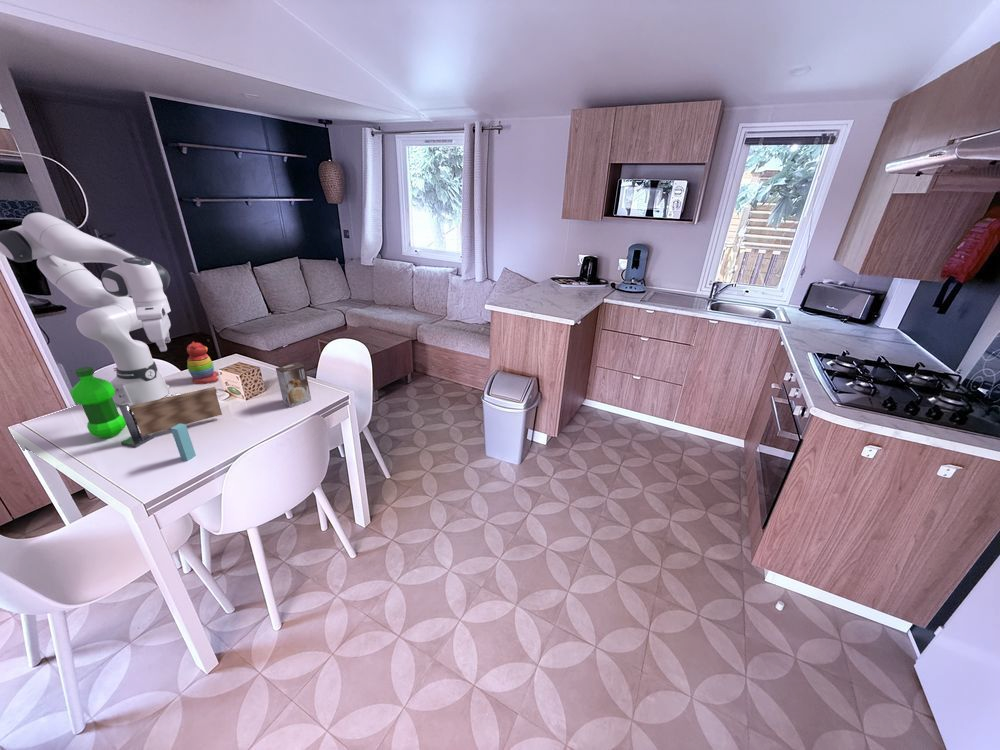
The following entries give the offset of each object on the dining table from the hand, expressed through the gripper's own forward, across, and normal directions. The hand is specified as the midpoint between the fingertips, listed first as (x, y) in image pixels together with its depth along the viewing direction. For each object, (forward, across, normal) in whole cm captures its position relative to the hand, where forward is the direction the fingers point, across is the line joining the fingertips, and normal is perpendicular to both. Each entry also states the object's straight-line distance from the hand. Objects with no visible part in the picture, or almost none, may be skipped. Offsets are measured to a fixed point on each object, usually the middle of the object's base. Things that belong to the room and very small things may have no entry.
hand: (165, 346), depth 140 cm
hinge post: (+29, +10, -14) cm, 34 cm away
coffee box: (+30, +3, +37) cm, 48 cm away
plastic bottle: (+29, 0, -22) cm, 37 cm away
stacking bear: (+29, -37, +4) cm, 47 cm away
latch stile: (+30, +29, +2) cm, 41 cm away
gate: (+27, +8, -1) cm, 28 cm away
